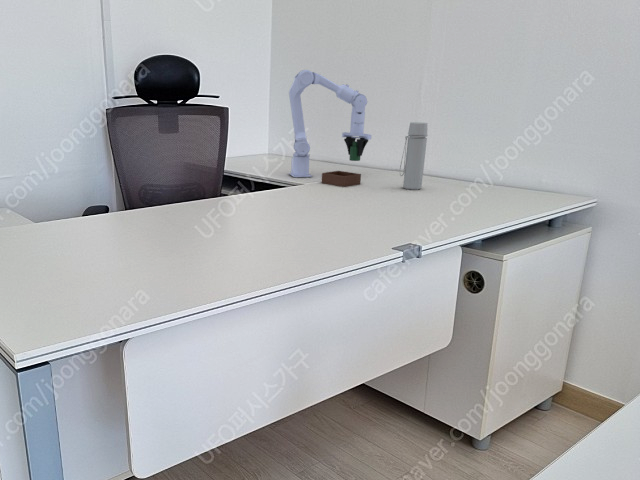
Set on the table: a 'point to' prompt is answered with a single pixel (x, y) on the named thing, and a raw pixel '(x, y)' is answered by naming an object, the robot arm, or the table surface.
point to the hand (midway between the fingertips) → (355, 155)
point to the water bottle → (415, 155)
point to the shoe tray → (341, 178)
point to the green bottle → (354, 152)
